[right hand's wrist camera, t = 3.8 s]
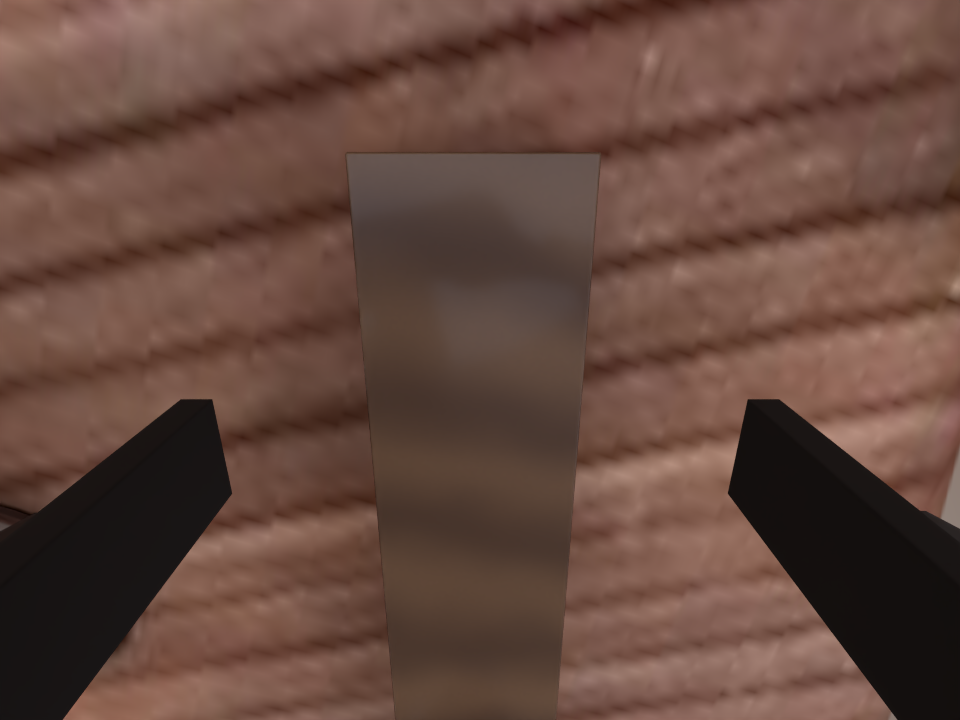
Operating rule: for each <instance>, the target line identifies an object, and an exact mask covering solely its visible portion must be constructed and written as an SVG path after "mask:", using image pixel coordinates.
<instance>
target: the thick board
mask: <svg viewBox="0 0 960 720" xmlns="http://www.w3.org/2000/svg"><path fill="white" fill-rule="evenodd" d="M345 157H346V168H347V179H348V191H349V202H350V213H351V224H352V236H353V247H354V258H355V269H356V281H357V292H358V303H359V314H360V326H361V337H362V348H363V359H364V371H365V382H366V393H367V404H368V416H369V427H370V438H371V449H372V461H373V472H374V483H375V494H376V506H377V517H378V528H379V539H380V551H381V562H382V573H383V584H384V596H385V607H386V618H387V629H388V641H389V652H390V663H391V674H392V686H393V697H394V708H395V719H396V720H556V713H557V700H558V688H559V675H560V663H561V650H562V638H563V625H564V613H565V600H566V588H567V575H568V563H569V550H570V538H571V525H572V513H573V500H574V488H575V475H576V463H577V450H578V438H579V425H580V413H581V400H582V388H583V375H584V363H585V350H586V338H587V325H588V313H589V300H590V288H591V275H592V263H593V250H594V238H595V225H596V213H597V200H598V188H599V175H600V163H601V153H600V152H347V153H346V154H345Z"/></svg>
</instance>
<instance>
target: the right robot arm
mask: <svg viewBox="0 0 960 720" xmlns="http://www.w3.org/2000/svg"><path fill="white" fill-rule="evenodd" d="M231 494H232V491H231V486H230V481H229V476H228V472H227V467H226V462H225V458H224V453H223V448H222V443H221V439H220V434H219V429H218V425H217V420H216V415H215V410H214V406H213V401H212V399H181V400H180V401H178V402H177V403H176V404H175V405H173V406H172V407H171V408H169V409H168V410H167V411H166V412H164V413H163V414H162V415H161V416H159V417H158V418H157V419H156V420H154V421H153V422H152V423H150V424H149V425H148V426H147V427H145V428H144V429H143V430H142V431H140V432H139V433H138V434H137V435H135V436H134V437H133V438H132V439H130V440H129V441H128V442H126V443H125V444H124V445H123V446H121V447H120V448H119V449H118V450H116V451H115V452H114V453H113V454H111V455H110V456H109V457H107V458H106V459H105V460H104V461H102V462H101V463H100V464H99V465H97V466H96V467H95V468H94V469H92V470H91V471H90V472H89V473H87V474H86V475H85V476H83V477H82V478H81V479H80V480H78V481H77V482H76V483H75V484H73V485H72V486H71V487H70V488H68V489H67V490H66V491H65V492H63V493H62V494H61V495H59V496H58V497H57V498H56V499H54V500H53V501H52V502H51V503H49V504H48V505H47V506H46V507H44V508H43V509H42V510H40V511H39V512H38V513H34V514H32V515H30V516H29V515H26V514H23V513H21V512H18V511H15V510H12V509H8V508H5V507H1V506H0V720H63V718H64V717H65V716H66V714H67V713H68V712H69V710H70V709H71V708H72V706H73V705H74V704H75V702H76V701H77V700H78V698H79V697H80V696H81V694H82V693H83V692H84V690H85V689H86V688H87V686H88V685H89V684H90V682H91V681H92V680H93V678H94V677H95V676H96V674H97V673H98V672H99V670H100V669H101V668H102V666H103V665H104V664H105V662H106V661H107V660H108V658H109V657H110V656H111V654H112V653H113V652H114V650H115V649H116V648H117V646H118V645H119V644H120V642H121V641H122V640H123V638H124V637H125V636H126V634H127V633H128V632H129V630H130V629H131V628H132V626H133V625H134V624H135V622H136V621H137V620H138V618H139V617H140V616H141V614H142V613H143V612H144V610H145V609H146V608H147V606H148V605H149V604H150V602H151V601H152V600H153V598H154V597H155V596H156V594H157V593H158V592H159V590H160V589H161V588H162V586H163V585H164V584H165V582H166V581H167V580H168V578H169V577H170V576H171V574H172V573H173V572H174V570H175V569H176V568H177V566H178V565H179V564H180V562H181V561H182V560H183V558H184V557H185V556H186V554H187V553H188V552H189V550H190V549H191V548H192V546H193V545H194V544H195V542H196V541H197V540H198V538H199V537H200V536H201V534H202V533H203V532H204V530H205V529H206V528H207V526H208V525H209V524H210V522H211V521H212V520H213V518H214V517H215V516H216V514H217V513H218V512H219V510H220V509H221V508H222V506H223V505H224V504H225V502H226V501H227V500H228V498H229V497H230V496H231ZM728 494H729V496H730V497H731V498H732V500H733V501H734V502H735V504H736V505H737V506H738V508H739V509H740V510H741V512H742V513H743V514H744V516H745V517H746V518H747V520H748V521H749V522H750V524H751V525H752V526H753V528H754V529H755V530H756V532H757V533H758V534H759V536H760V537H761V538H762V540H763V541H764V542H765V544H766V545H767V546H768V548H769V549H770V550H771V552H772V553H773V554H774V556H775V557H776V558H777V560H778V561H779V562H780V564H781V565H782V566H783V568H784V569H785V570H786V572H787V573H788V574H789V576H790V577H791V578H792V580H793V581H794V582H795V584H796V585H797V586H798V588H799V589H800V590H801V592H802V593H803V594H804V596H805V597H806V598H807V600H808V601H809V602H810V604H811V605H812V606H813V608H814V609H815V610H816V612H817V613H818V614H819V616H820V617H821V618H822V620H823V621H824V622H825V624H826V625H827V626H828V628H829V629H830V630H831V632H832V633H833V634H834V636H835V637H836V638H837V640H838V641H839V642H840V644H841V645H842V646H843V648H844V649H845V650H846V652H847V653H848V654H849V656H850V657H851V658H852V660H853V661H854V662H855V664H856V665H857V666H858V668H859V669H860V670H861V672H862V673H863V674H864V676H865V677H866V678H867V680H868V681H869V682H870V684H871V685H872V686H873V688H874V689H875V690H876V692H877V693H878V694H879V696H880V697H881V698H882V700H883V701H884V702H885V704H886V705H887V706H888V708H889V709H890V710H891V712H892V713H893V714H894V716H895V717H896V718H897V720H960V529H959V528H957V527H955V526H953V525H951V524H950V523H948V522H946V521H944V520H942V519H940V518H938V517H936V516H934V515H932V514H930V513H929V512H927V511H920V510H918V509H917V508H916V507H914V506H913V505H912V504H911V503H909V502H908V501H907V500H906V499H904V498H903V497H902V496H901V495H899V494H898V493H897V492H895V491H894V490H893V489H892V488H890V487H889V486H888V485H887V484H885V483H884V482H883V481H882V480H880V479H879V478H878V477H877V476H875V475H874V474H873V473H871V472H870V471H869V470H868V469H866V468H865V467H864V466H863V465H861V464H860V463H859V462H858V461H856V460H855V459H854V458H853V457H851V456H850V455H849V454H847V453H846V452H845V451H844V450H842V449H841V448H840V447H839V446H837V445H836V444H835V443H834V442H832V441H831V440H830V439H828V438H827V437H826V436H825V435H823V434H822V433H821V432H820V431H818V430H817V429H816V428H815V427H813V426H812V425H811V424H810V423H808V422H807V421H806V420H804V419H803V418H802V417H801V416H799V415H798V414H797V413H796V412H794V411H793V410H792V409H791V408H789V407H788V406H787V405H785V404H784V403H783V402H782V401H780V400H779V399H748V401H747V406H746V410H745V415H744V420H743V425H742V429H741V434H740V439H739V443H738V448H737V453H736V458H735V462H734V467H733V472H732V476H731V481H730V486H729V491H728Z"/></svg>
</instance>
